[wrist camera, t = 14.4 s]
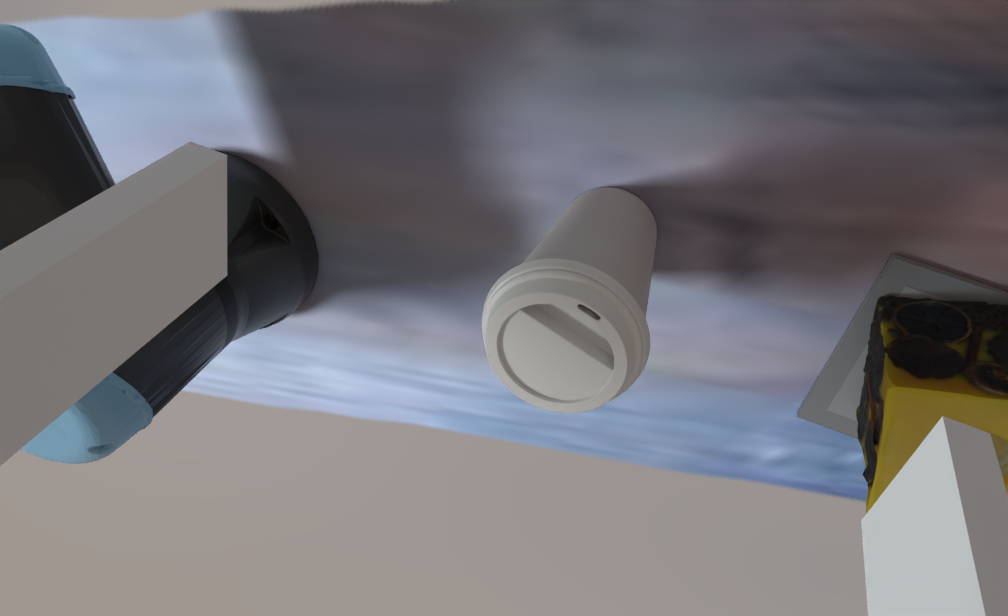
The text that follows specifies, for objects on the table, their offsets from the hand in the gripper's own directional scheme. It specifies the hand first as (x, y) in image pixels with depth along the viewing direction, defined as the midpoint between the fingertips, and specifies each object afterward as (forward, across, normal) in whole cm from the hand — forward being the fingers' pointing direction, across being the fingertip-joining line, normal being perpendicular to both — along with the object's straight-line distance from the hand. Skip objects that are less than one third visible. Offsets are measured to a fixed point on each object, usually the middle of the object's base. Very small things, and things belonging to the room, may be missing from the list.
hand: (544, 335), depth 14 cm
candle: (+36, +22, -18) cm, 46 cm away
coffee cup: (+37, -1, -18) cm, 41 cm away
